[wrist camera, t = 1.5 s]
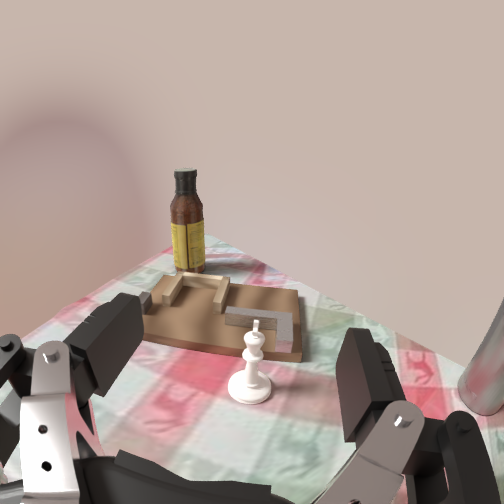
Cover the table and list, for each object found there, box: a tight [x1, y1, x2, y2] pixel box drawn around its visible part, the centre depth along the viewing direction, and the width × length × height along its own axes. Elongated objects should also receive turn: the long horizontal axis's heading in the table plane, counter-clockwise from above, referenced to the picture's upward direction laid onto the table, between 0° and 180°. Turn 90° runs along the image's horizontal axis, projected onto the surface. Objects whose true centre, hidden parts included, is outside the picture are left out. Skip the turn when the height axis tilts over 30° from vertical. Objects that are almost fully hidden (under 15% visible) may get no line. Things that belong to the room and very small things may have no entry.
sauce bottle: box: [170, 168, 205, 274], centre depth 51 cm, size 7×6×20 cm
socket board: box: [139, 271, 302, 362], centre depth 40 cm, size 24×16×4 cm, turn 84°
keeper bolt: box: [225, 306, 293, 353], centre depth 35 cm, size 9×6×2 cm, turn 84°
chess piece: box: [228, 320, 271, 404], centre depth 27 cm, size 5×5×10 cm
